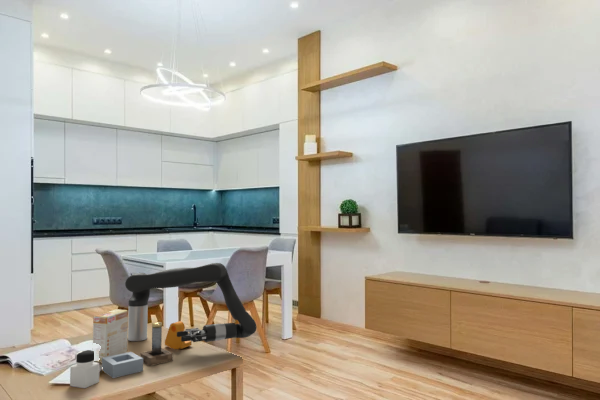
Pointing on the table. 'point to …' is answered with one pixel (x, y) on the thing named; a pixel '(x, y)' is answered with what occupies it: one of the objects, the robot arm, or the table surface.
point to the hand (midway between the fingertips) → (179, 336)
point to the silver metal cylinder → (156, 338)
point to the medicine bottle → (84, 370)
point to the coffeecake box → (111, 332)
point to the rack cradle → (122, 364)
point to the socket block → (156, 357)
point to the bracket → (172, 336)
